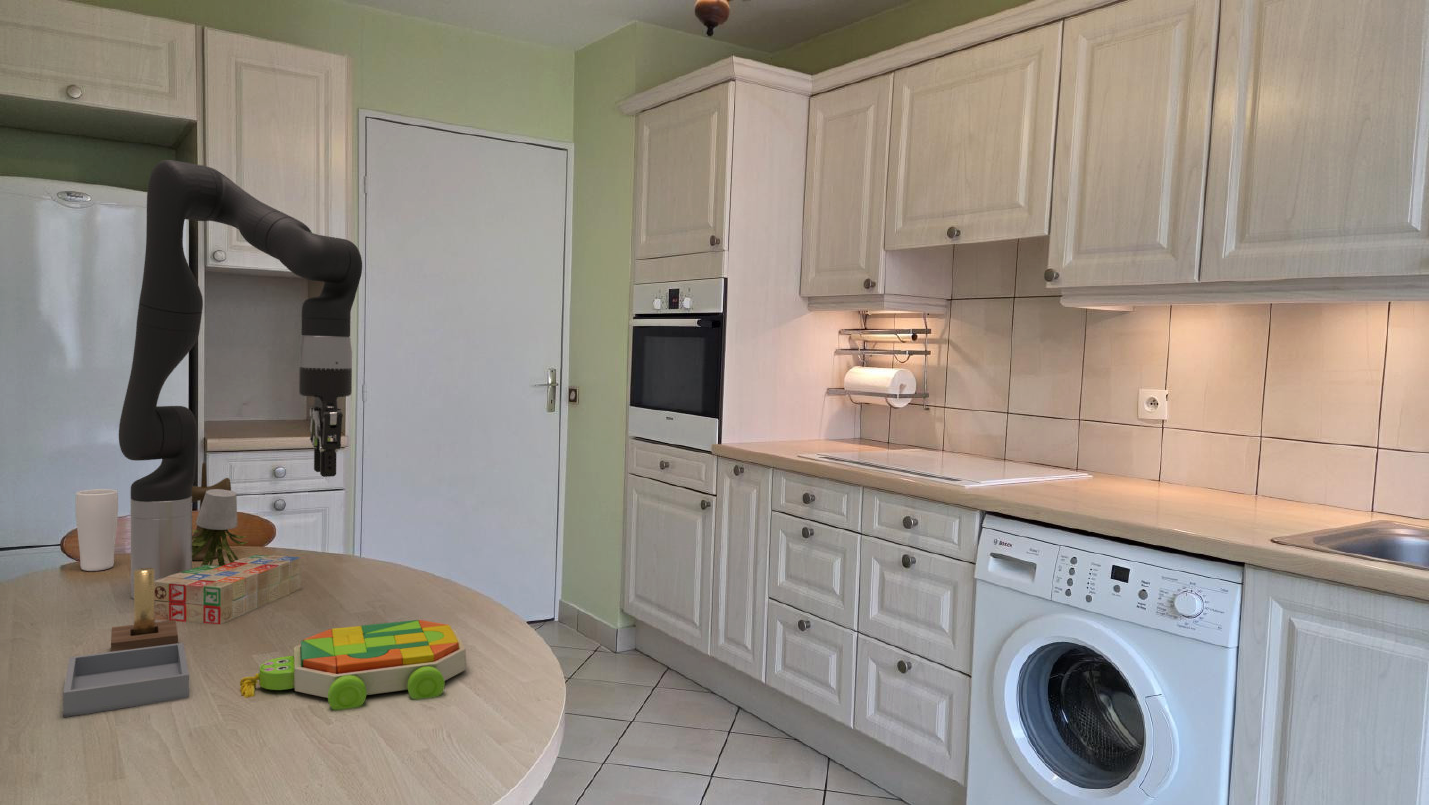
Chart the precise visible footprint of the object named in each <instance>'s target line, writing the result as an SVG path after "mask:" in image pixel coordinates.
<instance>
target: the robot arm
mask: <svg viewBox="0 0 1429 805" xmlns="http://www.w3.org/2000/svg"><path fill="white" fill-rule="evenodd" d="M147 185H148V186H147V190H146V191H147V192H146V226H145V228H146V235H145V236H146V237H145V242H146V243H145V255H144V264H143V275H142V276H143V277H142V282H141V290H140V293H139V294H140V295H139V302H138V310H137V316H136V327H135V328H136V329H135V340H134V346H133V347H134V349H133V355H132V364H131V369H130V375H129V378H128V379H129V380H128V384H127V389H126V392H125V396H124V400H123V405H122V410H121V414H120V417H119V418H120V419H119V426H118V443H119V444H118V445H119V448H120V451H121V453H122V455H123V456H124V457H125V458H126V459H128V460H131V461H135V462H136V461H152V460H161V462H160V465H159V466H158V467H157V468H156V469H155V470H154V471H153V472H151V473H149V474H147V475H146V476H144V477H141V478H139V479H137V480H135V481H133V482H132V483H131V486H130V598H132V599H133V600H134V570H136V569H140V568H154V581H156V580H159V579H162V578H165V577H167V576H170V575H174V574H177V573H181V572H183V571H186V570H189V569H193V560H192V542H193V540H192V535H193V532H192V530H193V503H192V487H193V486H194V484H195V479H196V467H197V465H196V463H197V449H198V448H197V447H198V425H197V421H196V418H195V415H194V414H193V412H192V411H191V409H189V408H188V407H186V406H183V405H160V406H158V401H159V397H160V394H161V391H162V389H163V386H164V384H165V382H166V381H167V379H168V378H169V376H170V375H171V374H172V373H173V371H174V370H175V369H176V368H177V367H178V365H179V364H181V362H182V361H183V360H184V359H185V357H186V356H187V355H188V354H189V353H190V351H191V350H192V349H193V347H194V346H195V344H196V342H197V341H198V338H199V335H200V330H201V323H202V314H203V306H204V300H203V295H202V292H201V288H200V286H199V284H198V282H197V280H196V277H195V276H194V273H193V272H192V270H191V268H190V265H189V263H188V261H187V258H186V255H185V251H184V243H183V242H184V226H185V221H186V220H187V221H189V220H190V221H198V222H209V221H210V222H215V223H219V224H223V225H227V226H230V227H233V228H235V229H237V230H238V231H239V233H240V235H241V237H242V238H243V239H244V241H246V242H247V243H248V244H250V245H251V246H252V247H254V248H255V249H257V250H259V251H261V252H262V253H265V254H266V255H268V256H270V257H272V258H274V259H276V260H278V261H280V263H281V264H282V265H284V267H285V268H287V269H288V270H289V271H290V272H292V273H293V274H294V275H296V276H298V277H299V278H303V279H304V280H309V281H313V282H324V283H323V286H322V289H321V292H320V295H318V296H314V297H311V298H307V299H306V300H304V302H303V303H302V307H301V340H300V345H299V361H298V362H299V371H298V372H299V373H298V374H299V377H298V378H299V382H298V384H299V385H298V387H299V388H298V389H299V390H298V392H299V395H301V396H302V397H311V398H313V397H314V399H313V400H314V402H313V405H310V406H309V410H308V411H309V419H310V420H309V425H310V428H309V431H310V438H309V440H310V442H311V445H312V448H313V470H314V472H317V473H319V474H320V476H321V477H325V478H328V477H329V478H330V477H335V476H336V475H337V453H338V452H339V450H340V449H341V447H342V443H341V442H342V441H341V440H342V426H343V425H342V424H343V423H342V422H343V418H344V416H343V412H342V409H341V408H338V401H337V399H338V398H344V397H350V396H351V395H352V386H353V384H352V382H353V380H352V378H353V376H352V375H353V370H352V369H353V367H352V366H353V351H352V342H351V319H352V318H351V314H352V312H351V311H352V308H353V304H354V302H355V298H356V295H357V293H358V292H357V291H358V289H359V284H360V281H361V278H362V271H363V259H362V255H361V252H360V250H359V248H358V247H357V245H356V244H355V243H354V242H352V241H351V240H349V239H345V238H340V237H334V236H329V235H328V236H327V235H322V234H316V233H313V232H312V230H311V229H310V228H309V226H308V225H307V224H305V223H303V222H302V221H301V220H299V219H297V218H295V217H293V216H291V215H288V214H286V213H284V212H283V211H280V210H278V209H276V208H274V207H272V206H269V205H268V204H266V203H264V202H262V201H261V200H259V199H257V198H256V197H254V196H252V195H251V194H250V193H248V192H247V191H245V189H243V188H241V187H240V186H239V185H238V184H237V183H235V182H234V181H233V180H231V179H230V178H229V177H228V176H226V175H225V174H223V173H222V172H221V171H219V170H218V169H216V168H213V167H210V166H207V165H201V164H196V163H191V162H190V163H189V162H185V161H179V160H173V159H163V160H161V161H159V162H158V163H156V164H155V165H154V167H153V168H152V171H151V173H150V176H149V180H148V183H147Z"/></svg>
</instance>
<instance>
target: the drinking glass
mask: <svg viewBox="0 0 1429 805" xmlns="http://www.w3.org/2000/svg"><path fill="white" fill-rule="evenodd" d="M118 514H119V497H118V490H116V489H111V488H97V489H95V488H94V489H85V490H84V489H83V490H79V491H77V492H75V519H76V520H75V521H76V530H77V539H78V548H79V557H80V562H79V563H80V569H81V570H82V571H87V572H98V571H104V570H105V571H106V570H109V569H111V568H113V566H114V565H115V563H114V562H115V546H116V544H115V543H116V536H117V525H118Z"/></svg>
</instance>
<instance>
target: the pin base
mask: <svg viewBox="0 0 1429 805" xmlns="http://www.w3.org/2000/svg"><path fill="white" fill-rule="evenodd" d="M178 635H179V634H178V629H177V621H175V620H171V621H170V620H162V621H155V633H153V634H144V635H136V636H134V624H129V625H128V624H127V625H118V626H112V627H111V633H110V652H114V651H122V650H130V649H138V648H145V647H153V646H161V645H169V644H177V643H179V637H178Z"/></svg>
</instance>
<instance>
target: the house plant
mask: <svg viewBox="0 0 1429 805" xmlns="http://www.w3.org/2000/svg"><path fill="white" fill-rule="evenodd" d="M237 501H238V500H237V493H236V492H235V491H232V490H231V491H229V490H223V489H212V490H208V491H206V493H205V496H204V499H203V502H202V505H201V508H200V507H199V509H200V511H198V515H197V518H196V521H195V525H196V527H197V526H199V527H202V528H203V529H202V532H201V534H200V535H199V536H196V537H193V538H192V559H193V558H194V557H195V556H196V555H197V554H198V553H199V552H200V551H201V550H202V548H203V547H204V546H205V545H206V544H207V542H208V541H209V540H210V539H211V537H212V536H213V538H212V541H211V543H210V546H209V548H208V551H207V553H206V555H205V558H204V560H203V561H202V563H201V564H200V566H204V565H213V562H214V560H215V558H214V556H215V552H217V554H218V557H217V564H218V566H223V565H226V561H225V558H224V555H223V550H224V551H225V552H226V556H227V559H228V561H229V563H232V562H234V561H237V560H239V557H238V556H237V555H236V554H235V553H234V551H233V550H232V549H231V547H230V545H229V542H228V539H227V538H228V537H229V539H230V540H231V541H232V542H234V543H236V544H237V545H241V546H242V545H246V544H247V543H248V541H239V540H237V539H241V540H242V539H244V538H247V536H246V535H245V536H243V535H237V534H233V533H231V532H230V531H229V530H233V529H234V528H235V529H236V528H237V527H238V506H237V505H238V502H237ZM199 531H201V530H199ZM199 531H196V529H195V530H194V529H192V533H193V534H195V533H196V532H199ZM193 540H194V541H193Z"/></svg>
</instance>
